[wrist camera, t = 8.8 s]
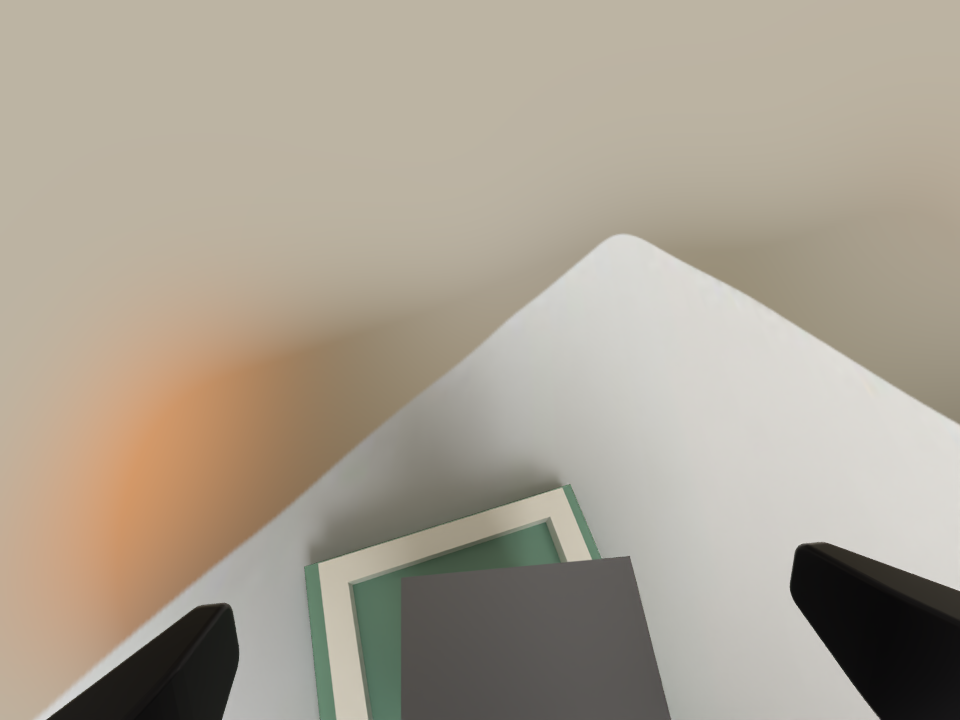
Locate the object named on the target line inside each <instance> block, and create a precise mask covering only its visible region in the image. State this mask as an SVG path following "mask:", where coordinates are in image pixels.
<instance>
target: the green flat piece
mask: <svg viewBox="0 0 960 720" xmlns="http://www.w3.org/2000/svg"><path fill="white" fill-rule="evenodd" d="M594 559H602V558H601V556H600V554H599V551H598V549H597V547H596V544H595V542H594V540H593V537H592V535H591V532H590V530H589V528H588V525H587V523H586V521H585V518H584V516H583V514H582V511H581V509H580V506H579V504H578V502H577V499H576V497H575V495H574V492H573V490H572V488H571V485H570V484H569V485H566V486H562V487H559V488H556V489H553V490H550V491H546V492H543V493H540V494H537V495H533V496H530V497H527V498H524V499H521V500H517V501H514V502H511V503H508V504H505V505H501V506H498V507H495V508H492V509H488V510H485V511H482V512H479V513H476V514H472V515H469V516H466V517H463V518H460V519H456V520H453V521H450V522H447V523H443V524H440V525H437V526H434V527H431V528H427V529H424V530H421V531H418V532H415V533H411V534H408V535H405V536H402V537H398V538H395V539H392V540H389V541H386V542H382V543H379V544H376V545H373V546H370V547H366V548H363V549H360V550H357V551H353V552H350V553H347V554H344V555H341V556H337V557H334V558H331V559H328V560H325V561H321V562H318V563H315V564H312V565H308V566H305V567H304V569H305V578H306V588H307V598H308V608H309V617H310V627H311V637H312V647H313V656H314V666H315V676H316V685H317V695H318V705H319V715H320V720H401V578H403V577H413V576H424V575H435V574H445V573H456V572H467V571H477V570H488V569H498V568H509V567H520V566H530V565H541V564H552V563H562V562H573V561H584V560H594Z"/></svg>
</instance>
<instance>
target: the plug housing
mask: <svg viewBox="0 0 960 720" xmlns="http://www.w3.org/2000/svg"><path fill="white" fill-rule="evenodd" d="M401 720H671V718H670V714H669V710H668V706H667V702H666V698H665V694H664V690H663V686H662V682H661V678H660V674H659V670H658V666H657V662H656V658H655V654H654V650H653V646H652V642H651V638H650V635H649V631H648V627H647V623H646V619H645V615H644V611H643V607H642V603H641V599H640V595H639V591H638V587H637V583H636V579H635V575H634V571H633V567H632V563H631V559H630V556H626V557H616V558H605V559H594V560H584V561H573V562H562V563H552V564H541V565H530V566H520V567H509V568H498V569H488V570H477V571H467V572H456V573H445V574H435V575H424V576H413V577H403V578H401Z"/></svg>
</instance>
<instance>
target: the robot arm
mask: <svg viewBox="0 0 960 720" xmlns="http://www.w3.org/2000/svg"><path fill="white" fill-rule="evenodd" d="M790 592H791V595H792V598H793V600H794V602H795V603H796V605H797V606H798V608H799V609H800V610H801V612H802V613H803V615H804V616H805V617H806V619H807V620H808V622H809V623H810V625H811V626H812V627H813V629H814V630H815V632H816V633H817V634H818V636H819V637H820V639H821V640H822V641H823V643H824V644H825V646H826V647H827V648H828V650H829V651H830V653H831V654H832V655H833V657H834V658H835V660H836V661H837V662H838V664H839V665H840V667H841V668H842V669H843V671H844V672H845V674H846V675H847V676H848V678H849V679H850V681H851V682H852V683H853V685H854V686H855V687H856V689H857V690H858V691H859V693H860V694H861V696H862V697H863V698H864V700H865V701H866V702H867V703H868V705H869V706H870V707H871V708H872V710H873V711H874V712H875V713H876V715H877V716H878V717H879V719H880V720H960V591H958V590H955V589H952V588H950V587H947V586H944V585H941V584H939V583H936V582H933V581H930V580H928V579H925V578H922V577H919V576H917V575H914V574H911V573H909V572H906V571H903V570H900V569H898V568H895V567H892V566H889V565H887V564H884V563H881V562H878V561H876V560H873V559H870V558H867V557H865V556H862V555H859V554H856V553H854V552H851V551H848V550H846V549H843V548H840V547H837V546H835V545H832V544H829V543H825V542H815V543H806V544H801V545H799V546H798V547H797V549H796V550H795V555H794V561H793V567H792V574H791V580H790ZM238 662H239V645H238V639H237V633H236V627H235V621H234V616H233V611H232V608H231V606H230V605H229V604H227V603H218V604H208V605H201V606H198V607H196V608H194V609H193V610H192V611H190V612H189V613H188V614H186V615H185V616H184V617H182V618H181V619H180V620H178V621H177V622H176V623H174V624H173V625H172V626H170V627H169V628H168V629H166V630H165V631H164V632H162V633H161V634H160V635H158V636H157V637H156V638H154V639H153V640H152V641H150V642H149V643H148V644H146V645H145V646H144V647H142V648H141V649H140V650H138V651H137V652H136V653H134V654H133V655H132V656H130V657H129V658H128V659H126V660H125V661H124V662H122V663H121V664H120V665H118V666H117V667H116V668H114V669H113V670H112V671H110V672H109V673H108V674H106V675H105V676H104V677H102V678H101V679H100V680H98V681H97V682H96V683H94V684H93V685H92V686H90V687H89V688H88V689H86V690H85V691H84V692H82V693H81V694H80V695H78V696H77V697H76V698H74V699H73V700H72V701H70V702H69V703H68V704H67V705H65V706H64V707H63V708H61V709H60V710H59V711H57V712H56V713H55V714H53V715H52V716H51V717H49V718H48V719H47V720H222V717H223V714H224V711H225V707H226V704H227V701H228V697H229V694H230V691H231V687H232V684H233V681H234V677H235V674H236V671H237V667H238Z"/></svg>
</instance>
